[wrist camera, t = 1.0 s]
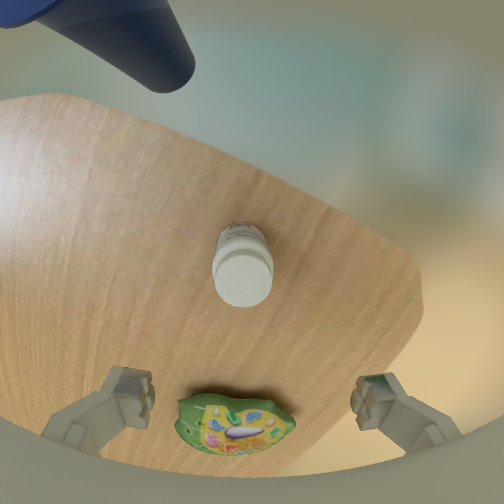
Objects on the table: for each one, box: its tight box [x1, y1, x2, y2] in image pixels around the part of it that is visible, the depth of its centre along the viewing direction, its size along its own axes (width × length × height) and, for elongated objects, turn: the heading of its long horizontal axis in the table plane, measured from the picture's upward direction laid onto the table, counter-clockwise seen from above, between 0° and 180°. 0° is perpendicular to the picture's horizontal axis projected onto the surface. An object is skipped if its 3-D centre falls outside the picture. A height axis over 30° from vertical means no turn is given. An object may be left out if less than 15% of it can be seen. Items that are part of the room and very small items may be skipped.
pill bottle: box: [212, 222, 274, 307], centre depth 24 cm, size 5×5×8 cm
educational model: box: [175, 393, 296, 456], centre depth 33 cm, size 13×16×5 cm
